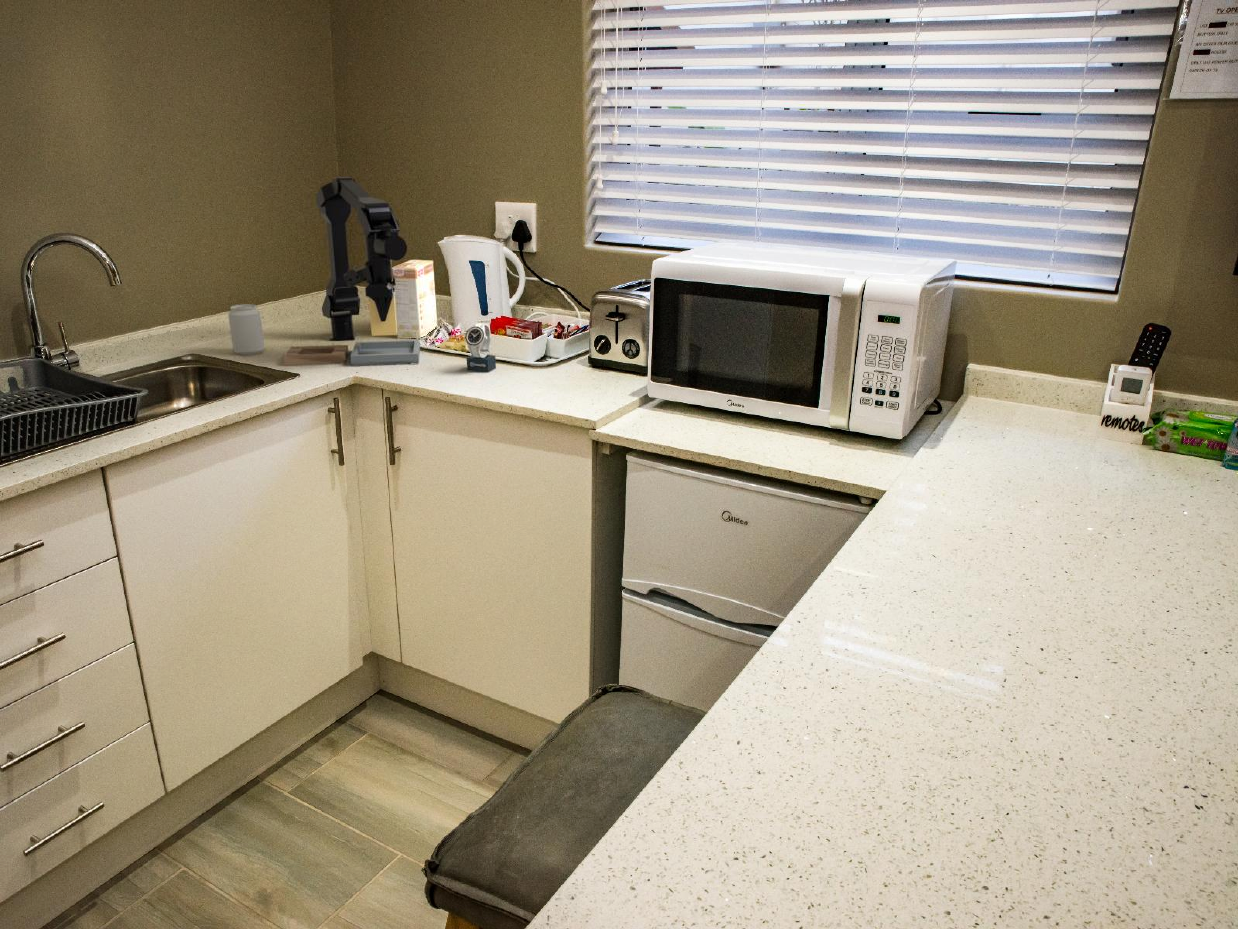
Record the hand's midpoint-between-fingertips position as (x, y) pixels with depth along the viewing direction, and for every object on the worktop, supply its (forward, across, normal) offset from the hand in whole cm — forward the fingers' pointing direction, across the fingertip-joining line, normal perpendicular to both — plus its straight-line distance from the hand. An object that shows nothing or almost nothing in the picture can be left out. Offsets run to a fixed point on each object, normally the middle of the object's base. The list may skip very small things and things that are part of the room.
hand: (383, 319), depth 230 cm
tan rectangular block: (+4, 0, 0) cm, 4 cm away
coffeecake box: (+10, -28, +7) cm, 30 cm away
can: (+10, -11, -35) cm, 38 cm away
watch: (+10, +16, +23) cm, 30 cm away
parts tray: (+10, 0, 0) cm, 10 cm away
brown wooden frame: (+10, -1, -17) cm, 19 cm away
